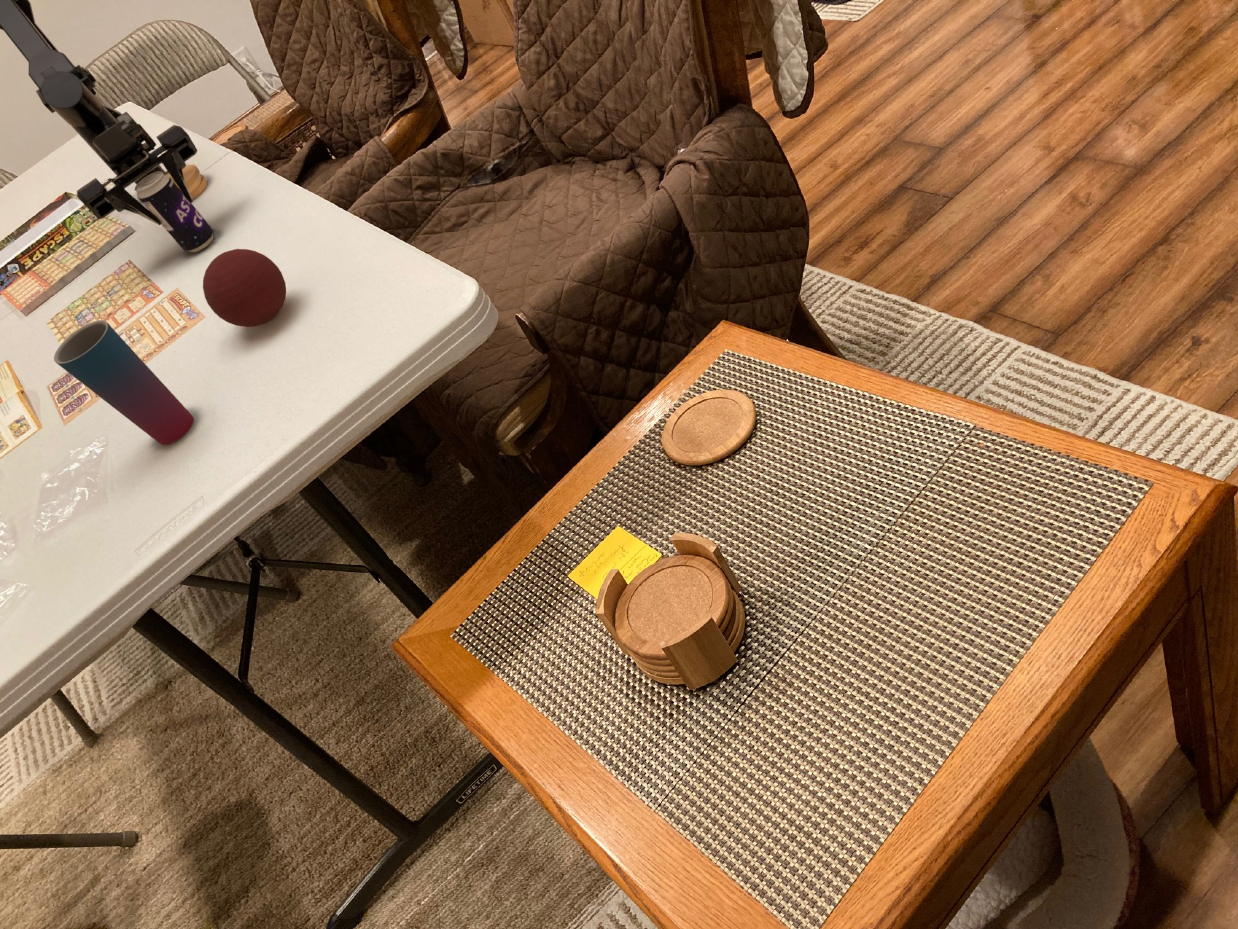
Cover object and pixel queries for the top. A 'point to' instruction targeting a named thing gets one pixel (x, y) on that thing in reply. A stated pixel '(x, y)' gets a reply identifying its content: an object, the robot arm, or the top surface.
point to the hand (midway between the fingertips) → (175, 212)
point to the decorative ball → (244, 287)
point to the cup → (123, 381)
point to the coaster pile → (193, 180)
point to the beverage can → (174, 211)
